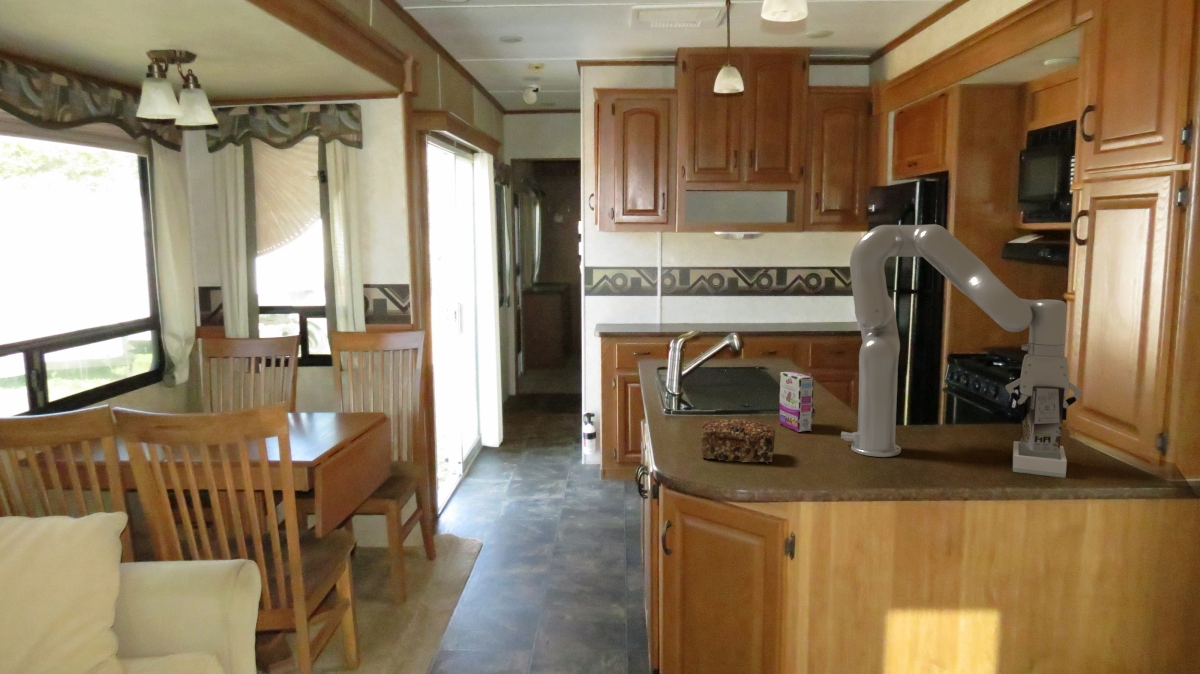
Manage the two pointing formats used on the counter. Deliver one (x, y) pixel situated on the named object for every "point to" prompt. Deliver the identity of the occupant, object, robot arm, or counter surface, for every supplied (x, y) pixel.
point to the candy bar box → (796, 401)
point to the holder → (1038, 461)
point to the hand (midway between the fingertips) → (1041, 420)
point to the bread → (737, 440)
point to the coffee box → (1043, 419)
